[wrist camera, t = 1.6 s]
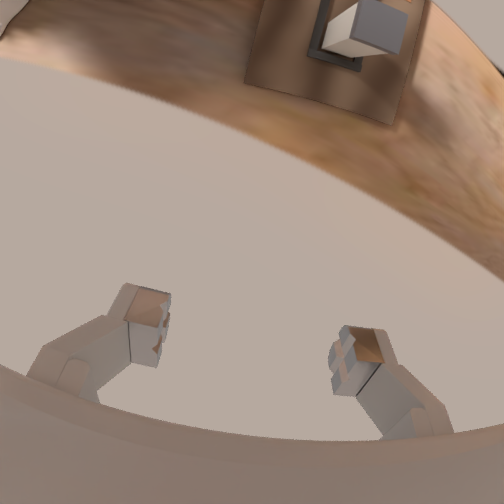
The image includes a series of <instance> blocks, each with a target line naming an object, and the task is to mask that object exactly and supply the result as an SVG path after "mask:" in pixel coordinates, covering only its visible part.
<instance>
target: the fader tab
mask: <svg viewBox="0 0 504 504" xmlns="http://www.w3.org/2000/svg"><path fill="white" fill-rule="evenodd" d="M408 15H409V14H406V13H404V12H402V11H400V10H398V9H395V8H393V7H391V6H389V5H386V4H384V3H381V2H379V1H377V0H359V1H358V2H357V3H356V4H354V5H353V6H351V7H350V8H348V9H347V10H346V11H344V12H343V13H341V14H340V15H338V16H337V17H336V18H334V19H333V20H331V21H330V22H329V23H328V26H327V30H326V33H325V37H324V41H323V45H322V49H324V50H327V51H331V52H334V53H337V54H340V55H343V56H346V57H349V58H353V57H361V56H369V55H378V54H391V55H399V52H400V48H401V44H402V40H403V36H404V32H405V28H406V24H407V19H408Z"/></svg>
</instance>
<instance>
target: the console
mask: <svg viewBox="0 0 504 504" xmlns="http://www.w3.org/2000/svg"><path fill="white" fill-rule="evenodd" d="M358 1H359V0H264V4H263V7H262V11H261V15H260V19H259V23H258V27H257V31H256V34H255V38H254V42H253V46H252V50H251V55H250V59H249V63H248V67H247V71H246V75H245V80H244V83H245V84H250V85H255V86H259V87H264V88H268V89H272V90H277V91H281V92H285V93H289V94H293V95H297V96H300V97H304V98H308V99H311V100H315V101H319V102H322V103H325V104H329V105H332V106H335V107H338V108H342V109H345V110H348V111H351V112H354V113H357V114H360V115H363V116H366V117H369V118H371V119H374V120H377V121H380V122H382V123H385V124H388V125H390V126H392V124H393V121H394V118H395V114H396V111H397V108H398V105H399V101H400V98H401V94H402V91H403V88H404V84H405V81H406V77H407V73H408V70H409V66H410V62H411V58H412V55H413V51H414V47H415V43H416V39H417V34H418V30H419V26H420V22H421V17H422V13H423V8H424V3H425V0H377V1H379V2H381V3H384V4H386V5H389V6H391V7H393V8H395V9H398V10H400V11H402V12H404V13H406V14H409V15H408V19H407V24H406V28H405V32H404V36H403V40H402V44H401V48H400V52H399V55H391V54H378V55H369V56H361V57H353V58H349V57H346V56H343V55H340V54H337V53H334V52H331V51H327V50H324V49H322V45H323V41H324V37H325V33H326V30H327V26H328V23H329V22H330V21H331V20H333V19H334V18H336V17H337V16H338V15H340V14H341V13H343V12H344V11H346V10H347V9H348V8H350V7H351V6H353V5H354V4H356V3H357V2H358Z"/></svg>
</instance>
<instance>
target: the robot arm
mask: <svg viewBox="0 0 504 504" xmlns="http://www.w3.org/2000/svg"><path fill="white" fill-rule="evenodd" d="M28 1H29V0H0V36H1V34H2V33H3V31H4V29H5V28H6V26H7V24H8V23H9V21H10V20H11V19H12V18H13V17H14V16H15V15H16V14H17V13H18V12H19V11H20V10H21V9H22V8H23V7H24V6H25V5H26V4H27V2H28ZM170 305H171V294H170V293H167V292H162V291H158V290H154V289H150V288H146V287H142V286H141V287H140V286H137V285H133V284H130V283H125V284H124V285H123V286H122V287H121V290H120V291H119V293H118V295H117V297H116V299H115V300H114V302H113V304H112V306H111V308H110V310H109V311H108V314H107V315H106V316H104V315H101V316H99V317H97V318H95V319H93V320H91V321H89V322H87V323H85V324H84V325H82V326H80V327H78V328H76V329H74V330H72V331H70V332H68V333H66V334H65V335H63V336H61V337H59V338H57V339H55V340H53V341H51V342H49V343H47V344H46V345H44V346H43V347H42V349H41V350H40V352H39V354H38V356H37V357H36V359H35V361H34V363H33V364H32V366H31V368H30V370H29V371H28V373H27V375H26V376H24V375H22V374H20V373H18V372H16V371H13V370H11V369H9V368H7V367H5V366H3V365H1V364H0V504H504V424H499V425H495V426H490V427H486V428H480V429H475V430H470V431H463V432H458V433H454V430H453V428H452V425H451V422H450V419H449V416H448V414H447V410H446V408H445V406H444V405H443V403H441V402H440V401H439V400H438V399H437V398H436V397H435V396H434V395H433V394H432V393H431V392H430V391H429V390H428V389H427V388H426V387H425V386H424V385H423V384H422V383H421V382H419V381H418V380H417V379H416V378H415V377H414V376H413V375H412V374H411V373H410V372H409V371H408V370H407V369H406V368H405V367H404V366H403V365H398V362H397V359H396V356H395V354H394V351H393V348H392V345H391V343H390V340H389V337H388V335H387V332H386V331H384V330H381V329H373V328H371V329H370V328H363V327H355V326H348V325H344V326H343V327H342V328H341V330H340V332H339V337H340V339H339V340H337V341H335V342H334V343H333V345H332V347H331V349H330V352H329V356H328V364H329V369H330V370H331V371H332V372H333V374H334V375H333V377H332V378H331V382H332V389H333V394H334V395H341V396H353V397H356V399H357V400H358V402H359V403H360V404H361V406H362V407H363V409H364V410H365V411H366V413H367V414H368V415H369V417H370V418H371V419H372V421H373V422H374V424H375V425H376V426H377V428H378V429H379V430H380V432H381V433H382V434H383V437H382V438H380V439H379V440H374V441H313V440H294V439H280V438H268V437H258V436H249V435H241V434H234V433H226V432H220V431H213V430H208V429H201V428H196V427H190V426H186V425H181V424H176V423H171V422H167V421H162V420H158V419H153V418H149V417H145V416H141V415H137V414H134V413H130V412H126V411H123V410H119V409H116V408H112V407H109V406H106V405H102V404H100V402H99V398H98V395H97V390H99V389H100V388H101V387H102V386H104V385H105V384H106V383H107V382H109V381H110V380H111V379H112V378H114V377H115V376H116V375H117V374H119V373H120V372H121V371H122V370H124V369H125V368H126V367H127V366H129V365H130V364H131V362H132V363H137V364H141V365H145V366H150V367H155V368H157V366H158V362H159V359H160V356H161V352H162V343H164V342H165V339H166V335H167V331H168V327H169V320H170V313H169V312H168V311H169V307H170Z"/></svg>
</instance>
